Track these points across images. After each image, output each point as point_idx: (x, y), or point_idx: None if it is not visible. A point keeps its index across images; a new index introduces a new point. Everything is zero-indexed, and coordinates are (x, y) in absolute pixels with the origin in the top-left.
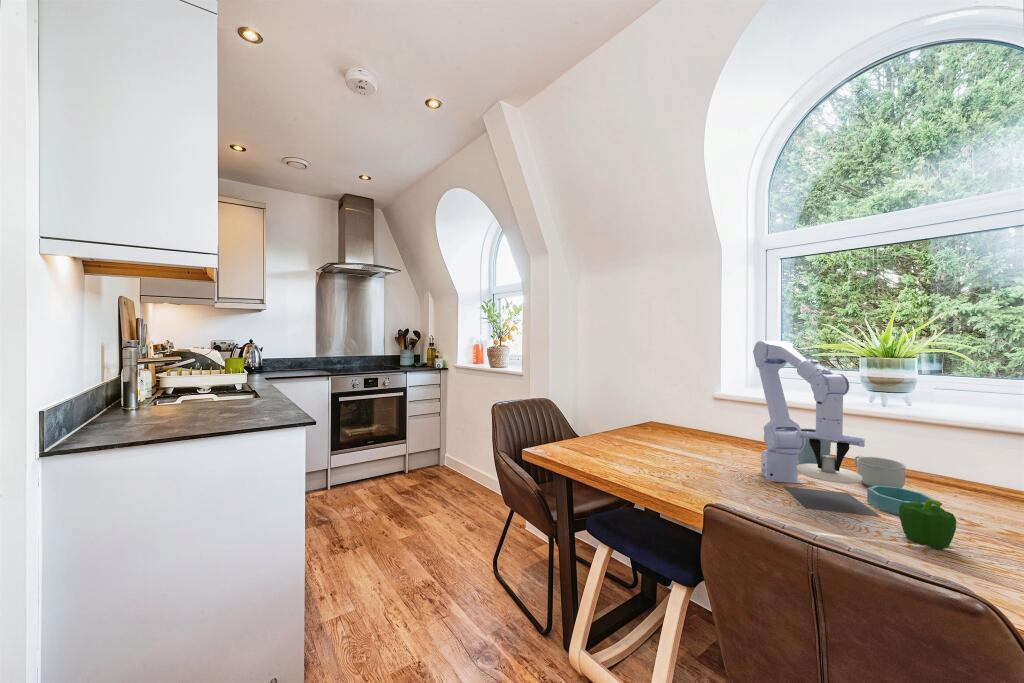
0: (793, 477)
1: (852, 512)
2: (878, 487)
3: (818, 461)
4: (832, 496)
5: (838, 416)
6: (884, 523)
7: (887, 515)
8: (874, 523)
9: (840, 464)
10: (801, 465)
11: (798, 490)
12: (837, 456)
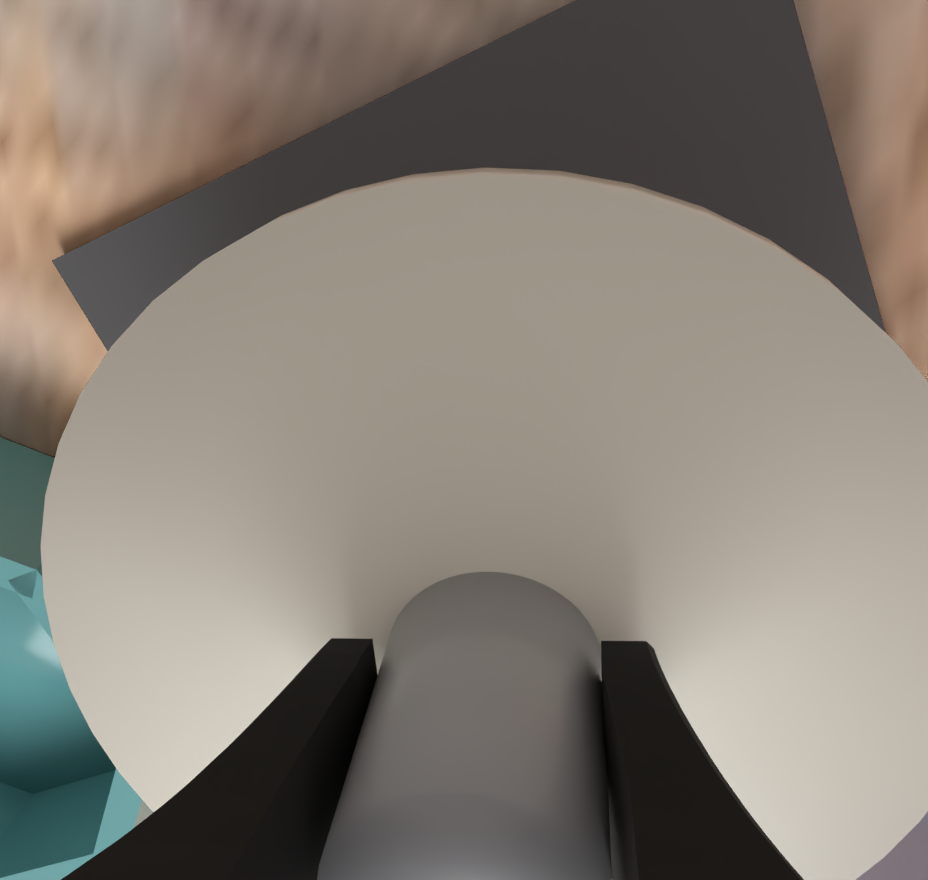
0: None
1: (280, 177)
2: (99, 839)
3: (658, 717)
4: None
5: None
6: (17, 111)
7: (44, 397)
8: (83, 27)
9: (259, 716)
10: (895, 777)
11: None
12: (245, 836)
